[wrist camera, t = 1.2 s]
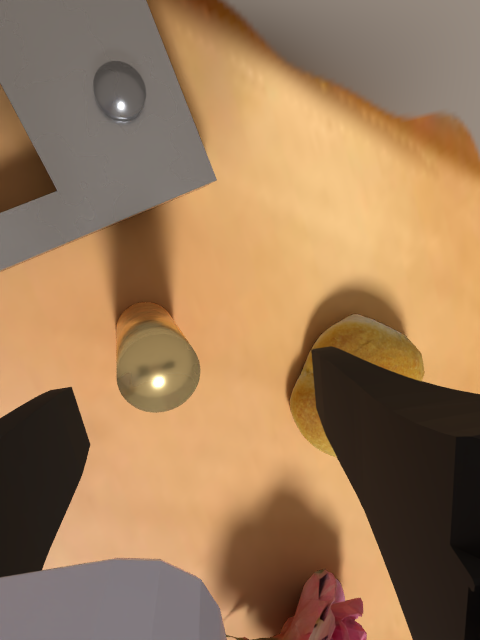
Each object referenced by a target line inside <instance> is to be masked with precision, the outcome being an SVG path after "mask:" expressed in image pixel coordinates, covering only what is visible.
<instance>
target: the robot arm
mask: <svg viewBox="0 0 480 640" xmlns="http://www.w3.org/2000/svg"><path fill="white" fill-rule="evenodd" d="M311 353H312V365H313V377H314V389H315V400H316V409H317V412H318V415H319V418H320V421H321V424H322V426H323V429H324V432H325V435H326V437H327V439H328V441H329V443H330V445H331V447H332V448H333V450H334V452H335V454H336V456H337V458H338V460H339V462H340V464H341V466H342V468H343V470H344V471H345V473H346V475H347V477H348V479H349V481H350V483H351V485H352V487H353V489H354V490H355V492H356V494H357V496H358V498H359V500H360V503H361V505H362V507H363V509H364V511H365V513H366V516H367V519H368V521H369V524H370V526H371V529H372V531H373V534H374V536H375V539H376V541H377V544H378V546H379V549H380V551H381V554H382V557H383V559H384V562H385V565H386V567H387V570H388V573H389V575H390V578H391V580H392V583H393V586H394V588H395V591H396V594H397V597H398V600H399V602H400V605H401V608H402V611H403V613H404V616H405V619H406V622H407V624H408V627H409V630H410V633H411V635H412V638H413V640H480V394H475V393H470V392H464V391H459V390H454V389H449V388H445V387H441V386H437V385H433V384H430V383H426V382H422V381H419V380H415V379H412V378H409V377H406V376H403V375H401V374H398V373H395V372H392V371H390V370H387V369H384V368H382V367H379V366H377V365H375V364H372V363H370V362H368V361H365V360H363V359H361V358H359V357H357V356H354V355H352V354H350V353H348V352H345V351H343V350H341V349H338V348H336V347H333V346H329V347H323V348H316V349H311ZM89 447H90V442H89V439H88V436H87V433H86V430H85V427H84V424H83V421H82V418H81V414H80V411H79V408H78V405H77V402H76V399H75V396H74V393H73V390H72V387H68V388H62V389H55V390H50V391H48V392H45V393H43V394H41V395H39V396H37V397H35V398H34V399H32V400H30V401H28V402H27V403H25V404H23V405H22V406H20V407H18V408H17V409H15V410H13V411H12V412H10V413H8V414H7V415H5V416H3V417H2V418H0V640H227V638H226V634H225V629H224V625H223V621H222V616H221V612H220V608H219V606H218V605H217V603H216V602H215V600H214V599H213V597H212V596H211V594H210V593H209V591H208V590H207V588H206V586H205V585H204V583H203V582H202V580H201V579H199V578H198V577H196V576H195V575H193V574H190V573H188V572H186V571H184V570H182V569H180V568H178V567H176V566H173V565H171V564H169V563H167V562H165V561H163V560H161V559H136V558H114V559H108V560H102V561H96V562H90V563H84V564H78V565H72V566H66V567H60V568H54V569H48V570H42V568H43V565H44V563H45V560H46V558H47V555H48V552H49V550H50V547H51V545H52V543H53V540H54V538H55V536H56V534H57V531H58V529H59V527H60V525H61V522H62V520H63V518H64V516H65V513H66V511H67V509H68V507H69V504H70V502H71V500H72V497H73V495H74V493H75V490H76V488H77V486H78V483H79V481H80V479H81V476H82V473H83V470H84V466H85V463H86V459H87V455H88V451H89Z"/></svg>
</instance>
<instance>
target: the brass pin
mask: <svg viewBox="0 0 480 640" xmlns="http://www.w3.org/2000/svg"><path fill="white" fill-rule="evenodd" d="M116 356H117V384H118V387H119V390H120V392H121V394H122V395H123V397H124V398H125V399H126V400H127V402H129V403H130V404H131V405H133V406H134V407H136V408H138V409H140V410H143V411H147V412H164V411H168V410H171V409H174V408H176V407H178V406H180V405H181V404H183V403H184V402H185V401H186V400H187V399H188V398H189V397H190V396H191V395H192V394H193V392H194V391H195V389H196V387H197V385H198V382H199V377H200V364H199V360H198V357H197V355H196V353H195V351H194V350H193V348H192V347H191V345H190V344H189V342H188V341H187V339H186V338H185V336H184V335H183V333H182V332H181V330H180V329H179V327H178V326H177V325H176V323H175V322H174V320H173V319H172V317H171V316H170V314H169V313H168V312H167V311H166V310H165V309H164V308H163V307H162V306H160V305H158V304H155V303H152V302H140V303H136V304H133V305H131V306H130V307H128V308H127V309H126V310H125V311H124V312H123V313H122V314H121V316H120V317H119V319H118V322H117V326H116Z"/></svg>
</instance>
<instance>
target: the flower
mask: <svg viewBox="0 0 480 640" xmlns="http://www.w3.org/2000/svg"><path fill="white" fill-rule="evenodd" d="M362 614H363V602H362V600H361V598H355V599H351V600H347V601H345V596H344V592H343V589H342V586H341V583H340V582H339V581H338V580H337V579H335V577H334V575H333V573H330V572H328V571H327V570H326V569H322V570H319V571H316V572H314V573H313V574H312V576H311V577H310V578H309V579H308V581H307V582H306V583H305V584H304V587H303V590H302V593H301V596H300V600H299V603H298V606H297V610H296V613H295V615H294V617H290V618H288V620H287V621H286V622H285V624H284V625H283V627H282V630H281V633H280V634H278V635H275V636H273V637H270V638H259V639H253V640H366V638H367V633H366V632H365V630H364V629H363V628H362V626H361V625H360V624H359V623H357V622H356V621H355V619H357V618H358V616H361V617H362ZM226 637H232V636H228V635H226ZM233 638H236V637H233ZM236 639H237V640H249V639H247V638H246V637H243V638H236Z"/></svg>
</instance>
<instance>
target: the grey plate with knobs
mask: <svg viewBox="0 0 480 640" xmlns="http://www.w3.org/2000/svg"><path fill="white" fill-rule="evenodd" d="M0 84H1V85H2V87H3V89H4V91H5V93H6V95H7V96H8V98H9V100H10V102H11V104H12V106H13V108H14V110H15V112H16V113H17V115H18V117H19V119H20V121H21V123H22V125H23V127H24V129H25V130H26V132H27V134H28V136H29V138H30V140H31V142H32V144H33V146H34V147H35V149H36V151H37V153H38V155H39V157H40V159H41V161H42V163H43V164H44V166H45V168H46V170H47V172H48V174H49V176H50V178H51V180H52V181H53V183H54V185H55V187H56V189H57V191H56V192H53V193H50V194H48V195H45V196H43V197H40V198H38V199H35V200H32V201H30V202H27V203H25V204H22V205H20V206H17V207H14V208H12V209H9V210H7V211H4V212H2V213H0V272H1V271H4V270H6V269H8V268H11V267H13V266H16V265H18V264H20V263H23V262H25V261H28V260H30V259H32V258H35V257H37V256H40V255H42V254H44V253H47V252H49V251H52V250H54V249H56V248H59V247H61V246H64V245H66V244H68V243H71V242H73V241H75V240H78V239H80V238H83V237H85V236H87V235H90V234H92V233H95V232H97V231H99V230H102V229H104V228H107V227H109V226H111V225H114V224H116V223H119V222H121V221H123V220H126V219H128V218H131V217H133V216H135V215H138V214H140V213H143V212H145V211H147V210H150V209H152V208H154V207H157V206H159V205H162V204H164V203H166V202H169V201H171V200H174V199H176V198H178V197H181V196H183V195H186V194H188V193H190V192H193V191H195V190H198V189H200V188H202V187H205V186H207V185H209V184H211V183H212V182H214V181H216V180H217V179H216V177H215V174H214V172H213V169H212V167H211V164H210V161H209V159H208V156H207V154H206V151H205V149H204V146H203V144H202V141H201V139H200V136H199V134H198V131H197V128H196V126H195V123H194V121H193V118H192V116H191V113H190V111H189V108H188V106H187V103H186V100H185V98H184V95H183V93H182V90H181V88H180V85H179V83H178V80H177V78H176V75H175V72H174V70H173V67H172V65H171V62H170V60H169V57H168V55H167V52H166V50H165V47H164V44H163V42H162V39H161V37H160V34H159V32H158V29H157V27H156V24H155V22H154V19H153V17H152V14H151V11H150V9H149V6H148V4H147V1H146V0H0Z"/></svg>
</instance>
